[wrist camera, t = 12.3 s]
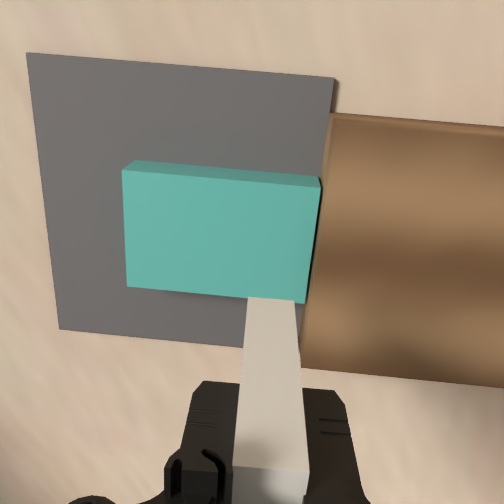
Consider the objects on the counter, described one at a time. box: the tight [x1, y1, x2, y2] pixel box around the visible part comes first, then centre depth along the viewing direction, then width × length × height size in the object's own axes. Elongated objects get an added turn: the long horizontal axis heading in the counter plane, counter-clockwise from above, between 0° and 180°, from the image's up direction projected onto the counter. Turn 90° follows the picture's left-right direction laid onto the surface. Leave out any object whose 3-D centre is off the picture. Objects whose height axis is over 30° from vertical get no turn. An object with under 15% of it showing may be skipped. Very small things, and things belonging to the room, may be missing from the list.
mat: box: [26, 53, 334, 348], centre depth 24 cm, size 15×14×1 cm
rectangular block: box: [122, 160, 321, 304], centre depth 23 cm, size 6×9×2 cm, turn 86°
